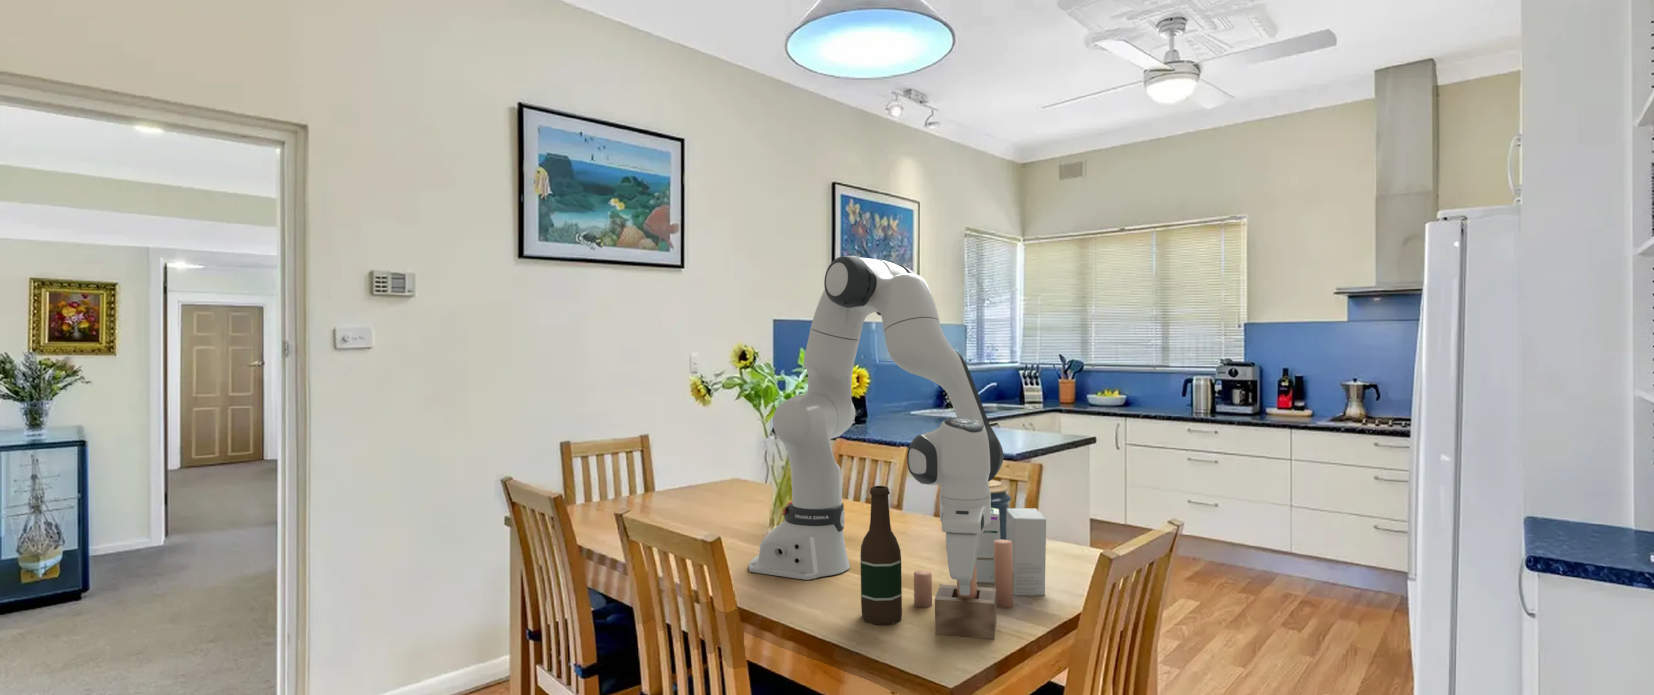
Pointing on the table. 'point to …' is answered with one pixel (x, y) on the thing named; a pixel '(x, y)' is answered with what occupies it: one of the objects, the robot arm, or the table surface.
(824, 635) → the table surface
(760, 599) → the table surface
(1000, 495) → the canister
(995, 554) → the pin long
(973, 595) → the pin medium
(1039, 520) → the skincare box
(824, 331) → the robot arm
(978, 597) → the hole block
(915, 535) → the table surface
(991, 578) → the syrup box
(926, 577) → the pin short
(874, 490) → the beer bottle
